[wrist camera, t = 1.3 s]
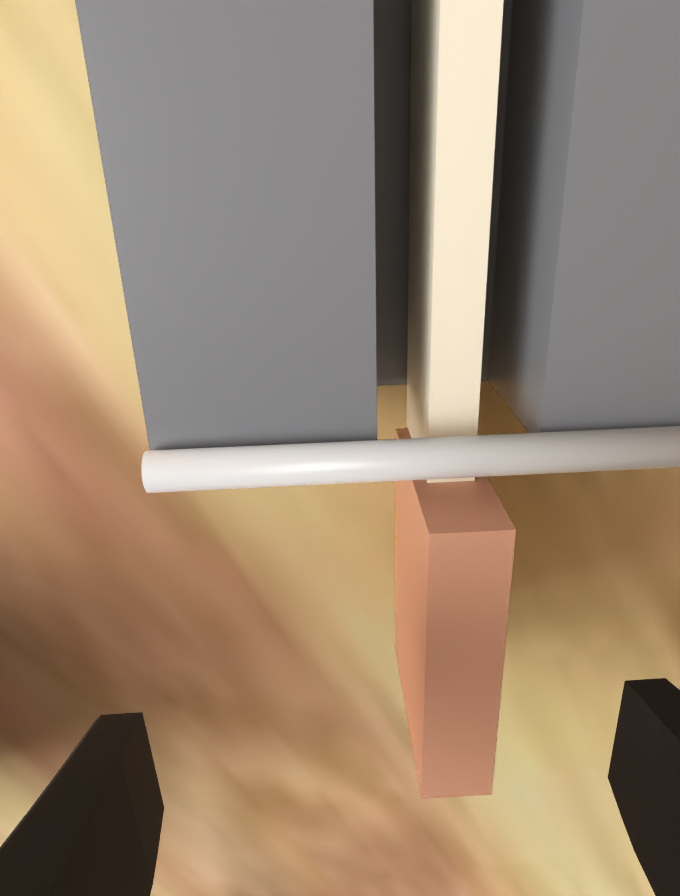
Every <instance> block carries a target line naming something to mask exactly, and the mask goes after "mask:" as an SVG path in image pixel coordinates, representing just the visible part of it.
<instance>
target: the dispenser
mask: <svg viewBox="0 0 680 896" xmlns="http://www.w3.org/2000/svg"><path fill="white" fill-rule="evenodd" d="M75 3H76V9H77V15H78V21H79V27H80V33H81V39H82V45H83V51H84V57H85V63H86V69H87V75H88V81H89V87H90V93H91V99H92V105H93V111H94V117H95V123H96V129H97V135H98V141H99V147H100V153H101V159H102V165H103V171H104V177H105V183H106V189H107V195H108V201H109V207H110V213H111V219H112V225H113V231H114V237H115V243H116V249H117V255H118V261H119V267H120V273H121V279H122V285H123V291H124V297H125V303H126V309H127V315H128V321H129V327H130V333H131V339H132V345H133V351H134V357H135V363H136V369H137V375H138V381H139V387H140V393H141V399H142V405H143V411H144V417H145V423H146V429H147V435H148V441H149V447H150V451H145V452H144V454H143V458H142V481H143V486H144V489H145V491H146V492H147V493H157V492H178V491H199V490H219V489H240V488H261V487H282V486H303V485H323V484H344V483H365V482H386V481H407V480H427V479H448V478H469V477H490V476H511V475H531V474H552V473H573V472H594V471H615V470H636V469H656V468H677V467H680V0H504V2H503V18H502V35H501V51H500V68H499V85H498V101H497V118H496V134H495V151H494V167H493V184H492V201H491V217H490V234H489V250H488V267H487V284H486V300H485V317H484V333H483V350H482V366H481V381H488V382H489V383H490V384H491V385H492V387H493V388H494V389H495V390H496V392H497V393H498V394H499V395H500V397H501V398H502V399H503V400H504V402H505V403H506V404H507V406H508V407H509V408H510V409H511V411H512V412H513V413H514V414H515V416H516V417H517V418H518V419H519V421H520V422H521V423H522V425H523V426H524V427H525V428H526V430H527V431H528V432H529V433H517V434H496V435H474V436H453V437H431V438H409V439H388V440H377V386H378V385H401V384H407V351H408V265H409V179H410V93H411V7H412V0H75Z"/></svg>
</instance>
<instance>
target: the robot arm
mask: <svg viewBox="0 0 680 896" xmlns="http://www.w3.org/2000/svg"><path fill="white" fill-rule="evenodd" d="M608 779H609V782H610V785H611V788H612V791H613V794H614V796H615V799H616V802H617V805H618V808H619V811H620V814H621V817H622V819H623V822H624V825H625V827H626V830H627V833H628V835H629V838H630V841H631V843H632V846H633V849H634V851H635V853H636V855H637V858H638V860H639V862H640V864H641V866H642V868H643V870H644V872H645V874H646V876H647V879H648V881H649V883H650V885H651V887H652V889H653V891H654V893H655V895H656V896H680V690H679V689H678V688H676V687H675V686H674V685H673V684H672V683H670V682H669V681H668V680H667V679H666V678H661V679H646V680H630V681H625V683H624V689H623V694H622V700H621V706H620V711H619V717H618V723H617V728H616V734H615V740H614V745H613V751H612V756H611V762H610V768H609V773H608ZM163 811H164V805H163V801H162V796H161V792H160V788H159V783H158V779H157V775H156V770H155V766H154V761H153V757H152V753H151V748H150V744H149V740H148V735H147V731H146V727H145V722H144V718H143V714H142V712H140V713H125V714H110V715H101V716H100V717H99V718H98V719H97V720H96V721H95V722H94V723H93V725H92V726H91V727H90V729H89V730H88V731H87V733H86V734H85V736H84V737H83V738H82V740H81V741H80V742H79V744H78V745H77V747H76V748H75V749H74V751H73V752H72V753H71V755H70V756H69V758H68V759H67V760H66V762H65V763H64V764H63V766H62V767H61V768H60V770H59V771H58V773H57V774H56V775H55V777H54V778H53V779H52V781H51V782H50V783H49V785H48V786H47V787H46V789H45V790H44V791H43V793H42V794H41V795H40V797H39V798H38V799H37V801H36V802H35V803H34V805H33V806H32V807H31V809H30V810H29V811H28V812H27V814H26V815H25V816H24V818H23V819H22V820H21V821H20V823H19V824H18V825H17V826H16V828H15V829H14V830H13V832H12V833H11V834H10V835H9V837H8V838H7V839H6V841H5V842H4V843H3V844H2V846H1V847H0V896H150V893H151V889H152V885H153V879H154V873H155V866H156V860H157V854H158V847H159V840H160V833H161V826H162V818H163Z"/></svg>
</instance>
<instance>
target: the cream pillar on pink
mask: <svg viewBox="0 0 680 896" xmlns="http://www.w3.org/2000/svg"><path fill="white" fill-rule="evenodd" d="M503 2H504V0H412V7H411V93H410V179H409V265H408V351H407V428H404V429H396V439H409V438H431V437H453V436H474V435H477V433H478V416H479V400H480V383H481V366H482V350H483V333H484V317H485V300H486V284H487V267H488V250H489V234H490V217H491V201H492V184H493V167H494V151H495V134H496V118H497V101H498V85H499V68H500V51H501V35H502V18H503ZM515 537H516V528H515V527H514V525H513V523H512V521H511V519H510V518H509V516H508V514H507V512H506V510H505V509H504V507H503V505H502V503H501V501H500V500H499V498H498V496H497V494H496V492H495V490H494V489H493V487H492V485H491V483H490V481H489V480H488V478H487V477H469V478H448V479H427V480H407V481H396V517H395V650H396V656H397V661H398V667H399V673H400V679H401V684H402V690H403V696H404V701H405V707H406V713H407V719H408V724H409V730H410V736H411V741H412V747H413V753H414V759H415V764H416V770H417V776H418V782H419V787H420V793H421V799H424V798H440V797H456V796H473V795H489V794H492V784H493V774H494V763H495V752H496V741H497V731H498V720H499V709H500V698H501V688H502V677H503V666H504V655H505V645H506V634H507V623H508V612H509V602H510V591H511V580H512V569H513V559H514V548H515Z"/></svg>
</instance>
